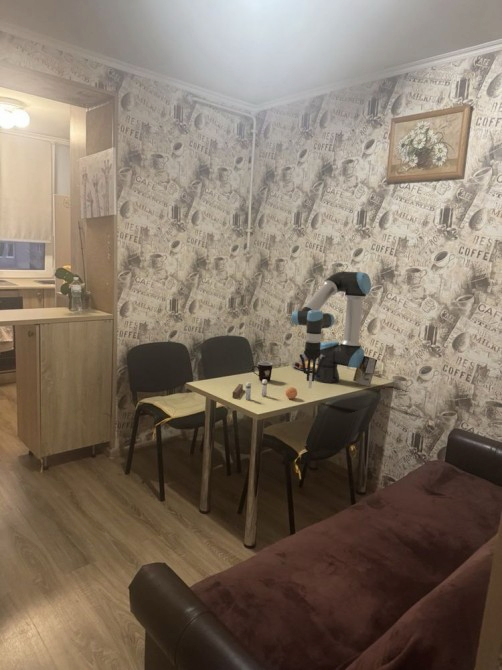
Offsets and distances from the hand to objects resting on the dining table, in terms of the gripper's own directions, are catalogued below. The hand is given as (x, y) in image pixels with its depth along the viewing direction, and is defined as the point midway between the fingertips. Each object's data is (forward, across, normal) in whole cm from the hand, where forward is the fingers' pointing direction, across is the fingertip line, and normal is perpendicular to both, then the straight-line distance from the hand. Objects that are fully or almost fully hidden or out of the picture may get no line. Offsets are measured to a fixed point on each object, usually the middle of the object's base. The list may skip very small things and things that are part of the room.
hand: (310, 387), depth 235 cm
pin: (+7, +23, 0) cm, 24 cm away
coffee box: (+6, -28, -40) cm, 49 cm away
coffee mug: (+7, +29, -32) cm, 44 cm away
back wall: (+7, +37, 0) cm, 38 cm away
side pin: (+7, +30, +8) cm, 32 cm away
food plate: (+6, +3, -72) cm, 72 cm away
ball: (+4, +9, 0) cm, 10 cm away
